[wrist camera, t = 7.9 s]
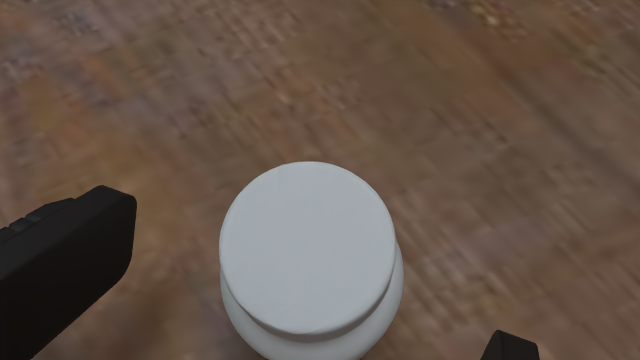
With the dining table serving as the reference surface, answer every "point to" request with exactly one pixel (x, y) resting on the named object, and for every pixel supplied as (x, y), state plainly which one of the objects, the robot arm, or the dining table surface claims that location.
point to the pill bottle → (310, 264)
